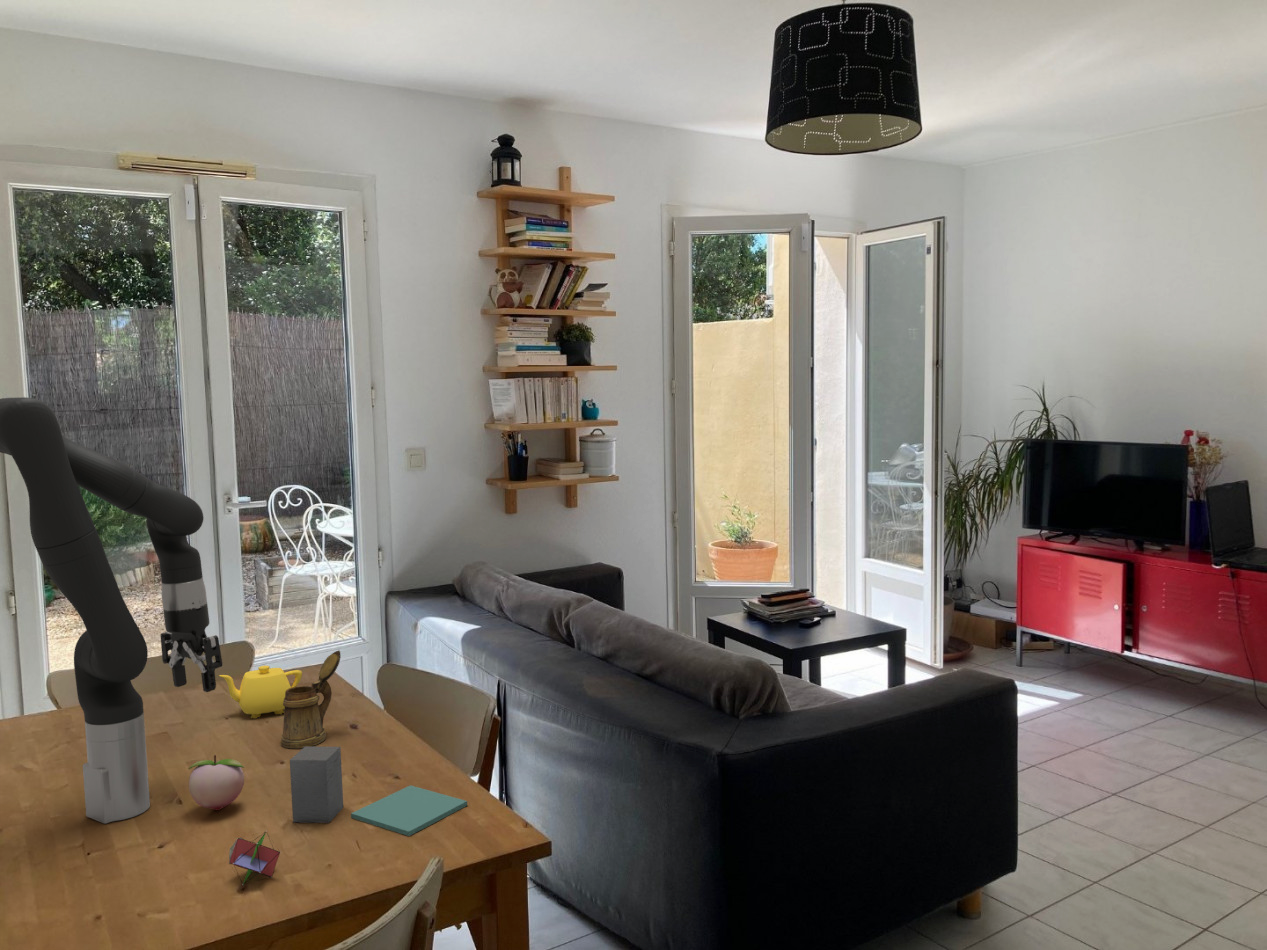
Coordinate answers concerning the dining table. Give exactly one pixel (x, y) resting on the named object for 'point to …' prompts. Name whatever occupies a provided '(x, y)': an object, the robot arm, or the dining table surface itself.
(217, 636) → the robot arm
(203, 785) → the decorative fruit
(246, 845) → the geometric puzzle
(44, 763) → the dining table surface
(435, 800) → the teal mat
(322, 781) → the block
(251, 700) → the teapot
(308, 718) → the wooden mug
